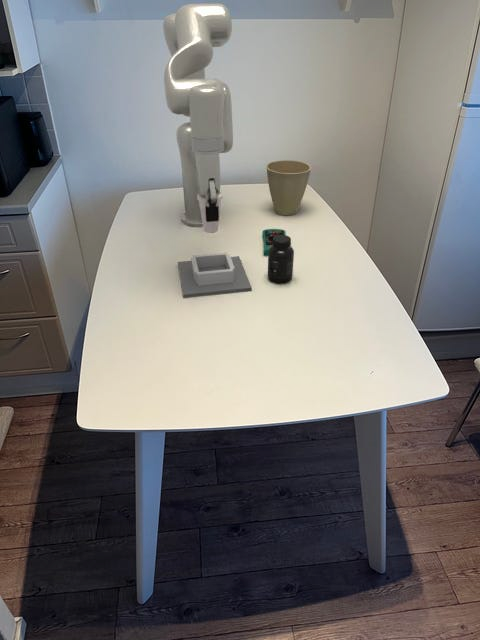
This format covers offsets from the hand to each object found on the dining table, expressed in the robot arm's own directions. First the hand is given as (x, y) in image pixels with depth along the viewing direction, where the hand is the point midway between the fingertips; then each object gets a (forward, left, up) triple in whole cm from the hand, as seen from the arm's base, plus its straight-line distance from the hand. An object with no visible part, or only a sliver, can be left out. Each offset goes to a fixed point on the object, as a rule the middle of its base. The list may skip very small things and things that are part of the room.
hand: (210, 215), depth 125 cm
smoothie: (0, 0, -4) cm, 4 cm away
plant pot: (-41, +32, -19) cm, 55 cm away
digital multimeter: (-16, +22, -19) cm, 33 cm away
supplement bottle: (+4, +18, -19) cm, 26 cm away
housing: (0, 0, -18) cm, 18 cm away
